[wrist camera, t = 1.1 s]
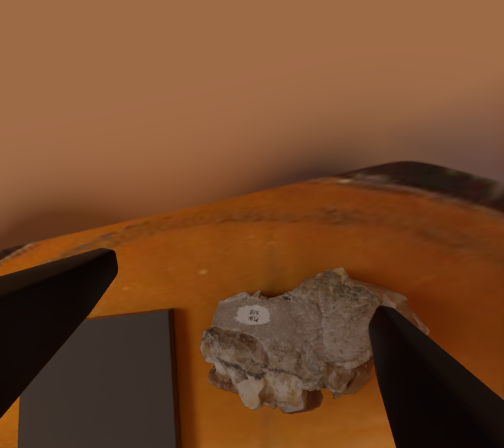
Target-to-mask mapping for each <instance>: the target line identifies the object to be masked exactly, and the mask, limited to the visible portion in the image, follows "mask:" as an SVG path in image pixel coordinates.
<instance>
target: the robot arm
mask: <svg viewBox="0 0 504 448" xmlns="http://www.w3.org/2000/svg"><path fill="white" fill-rule="evenodd" d="M117 273H118V265H117V258H116V253H115V251H114V250H111V249H106V248H99V249H96V250H92V251H89V252H85V253H82V254H78V255H75V256H71V257H67V258H64V259H60V260H57V261H53V262H50V263H46V264H42V265H39V266H35V267H32V268H28V269H25V270H21V271H18V272H14V273H10V274H7V275H3V276H0V418H1V417H2V416H3V415H4V413H5V412H6V411H7V410H8V409H9V408H10V406H11V405H12V404H13V403H14V402H15V401H16V399H17V398H18V397H19V396H20V395H21V394H22V392H23V391H24V390H25V389H26V388H27V386H28V385H29V384H30V383H31V382H32V381H33V379H34V378H35V377H36V376H37V375H38V374H39V372H40V371H41V370H42V369H43V368H44V367H45V365H46V364H47V363H48V362H49V361H50V360H51V358H52V357H53V356H54V355H55V354H56V352H57V351H58V350H59V349H60V348H61V347H62V345H63V344H64V343H65V342H66V341H67V340H68V338H69V337H70V336H71V335H72V334H73V333H74V331H75V330H76V329H77V328H78V327H79V326H80V324H81V323H82V322H83V321H84V320H85V318H86V317H87V316H88V315H89V313H90V312H91V311H92V309H93V308H94V307H95V305H96V304H97V302H98V301H99V300H100V298H101V297H102V295H103V294H104V293H105V291H106V290H107V288H108V287H109V285H110V284H111V283H112V281H113V280H114V278H115V277H116V275H117ZM368 330H369V336H370V342H371V347H372V353H373V359H374V365H375V370H376V375H377V380H378V384H379V388H380V392H381V395H382V399H383V402H384V406H385V409H386V413H387V417H388V420H389V424H390V427H391V431H392V434H393V438H394V442H395V445H396V448H504V400H503V399H501V398H500V397H499V396H498V395H497V394H496V393H494V392H493V391H492V390H491V389H490V388H488V387H487V386H486V385H485V384H484V383H482V382H481V381H480V380H479V379H478V378H477V377H475V376H474V375H473V374H472V373H471V372H469V371H468V370H467V369H466V368H465V367H463V366H462V365H461V364H460V363H459V362H457V361H456V360H455V359H454V358H453V357H452V356H450V355H449V354H448V353H447V352H446V351H444V350H443V349H442V348H441V347H440V346H438V345H437V344H436V343H435V342H434V341H433V340H431V339H430V338H429V337H428V336H427V335H425V334H424V333H423V332H422V331H421V330H419V329H418V328H417V327H416V326H415V325H414V324H412V323H411V322H410V321H409V320H408V319H406V318H405V317H404V316H403V315H402V314H400V313H399V312H398V311H397V310H396V309H394V308H393V307H389V306H384V305H379V306H378V307H377V308H376V310H375V312H374V314H373V316H372V318H371V320H370V322H369V326H368Z"/></svg>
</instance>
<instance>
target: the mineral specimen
mask: <svg viewBox="0 0 504 448" xmlns="http://www.w3.org/2000/svg"><path fill="white" fill-rule="evenodd" d="M406 301H408V300H407V299H406V297H405V296H404V295H403V294H401V293H398V292H396V291H393V290H390V289H388V288H385V287H382V286H379V285H375V284H371V283H365V282H362V281H359V280H356V279H351V278H350V277H349V276H348V274H347V272H346V271H345V269H343V268H342V267H341V268H336V269H333V270H331V269H330V270H325V271H324V272H323V273H319V274H317V275H314V276H311V277H308V278H306V279H304V280H303V281H302V282H301V284H300V285H299V286H298V287H297V288H295V289H293V291H288V292H285V293H284V294H283V295H279V296H276V297H274V298H267V297H264V296H263V295H262V292H261V291H258V292H256V293H254V294H253V295H252V296H251V293H250V294H249V293H248V292H242V293H238V294H237V295H235V296H230V297H229V298H227V299H226V300H221V301H219V303H218V307H217V310H216V312H215V314H214V318H213V322H212V325H211V327H210V328H209V329H207V330H205V331H204V332H203V335H202V342H201V348H200V349H201V352H202V356H203V358H205V360H206V362H208V363H210V364H213V365H215V366H214V367H213V368H212V369H211V370H210V371H209V383H211V384H212V385H214V386H215V387H217V388H219V389H222V390H225V391H230V392H233V393H236V394H239V396H240V398H241V401H242V404H243V405H244V406H246V407H249V408H250V409H252V410H255V409H258V408H260V407H262V404H264V405H267V406H269V407H272V408H273V409H275V408H276V407H277V406H278V408H279V409H280V410H281V411H282V412H283V413H287V414H294V413H301V412H306V411H311V410H314V409H315V408H317V407H320V405H321V402H322V400H323V396H322V393H321V391H320V390H321V389H325V388H327V389H328V390H330V391H331V392H332V393H333V398H334V399H337V398H339V397H341V396H342V395H345V394H350V393H353V394H355V393H356V392H357V391H358V390H359V389H360V388H361V387H362V386H363V385H364V384H365V383H366V382H367V381H368V380H369V378H370V374H371V368H372V366H373V364H374V359H373V353H372V347H371V342H370V336H369V330H368V326H369V322H370V320H371V318H372V316H373V314H374V312H375V310H376V308H377V307H378V306H379V305H384V306H389V307H393V308H394V309H396V310H397V311H398V312H399V313H400V314H402V315H403V316H404V317H405V318H406V319H408V320H409V321H410V322H411V323H412V324H414V325H415V326H416V327H417V328H418V329H419V330H421V331H422V332H423V333H424V334H425V335H427V334H429V333H430V330H429V329H428V328H427V327H426V326H425V325H424V324H423V322H422V321H421V320H420V319H419V318H418V317H417V316H416V314H415V313H414V312H413V311H412V310H411V309H410V308H408V307H407V306H408V304H406V303H405V302H406Z"/></svg>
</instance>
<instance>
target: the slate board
mask: <svg viewBox="0 0 504 448" xmlns="http://www.w3.org/2000/svg"><path fill="white" fill-rule="evenodd" d="M18 448H181V432H180V416H179V400H178V384H177V368H176V352H175V336H174V320H173V308H169V309H160V310H152V311H144V312H135V313H127V314H118V315H110V316H102V317H93V318H85V320H84V321H83V322H82V323H81V324H80V326H79V327H78V328H77V329H76V330H75V331H74V333H73V334H72V335H71V336H70V337H69V338H68V340H67V341H66V342H65V343H64V344H63V345H62V347H61V348H60V349H59V350H58V351H57V352H56V354H55V355H54V356H53V357H52V358H51V360H50V361H49V362H48V363H47V364H46V365H45V367H44V368H43V369H42V370H41V371H40V372H39V374H38V375H37V376H36V377H35V378H34V379H33V381H32V382H31V383H30V384H29V385H28V386H27V388H26V389H25V390H24V391H23V392H22V394H21V395H20V402H19V427H18Z"/></svg>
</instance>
